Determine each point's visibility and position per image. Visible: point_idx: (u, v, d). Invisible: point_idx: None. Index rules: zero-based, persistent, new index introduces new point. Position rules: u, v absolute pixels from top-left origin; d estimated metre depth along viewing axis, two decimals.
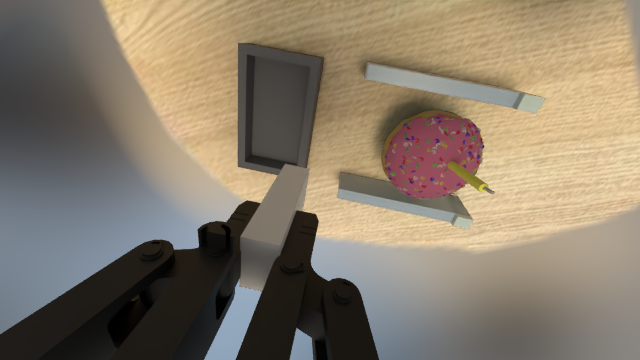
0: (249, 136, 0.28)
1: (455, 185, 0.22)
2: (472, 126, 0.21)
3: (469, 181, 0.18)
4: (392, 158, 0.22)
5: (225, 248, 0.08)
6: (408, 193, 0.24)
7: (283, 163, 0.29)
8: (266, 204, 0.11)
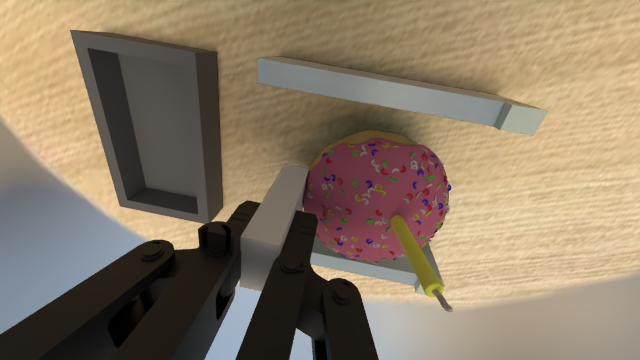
0: (133, 164, 0.20)
1: None
2: (429, 157, 0.13)
3: (413, 267, 0.10)
4: (309, 206, 0.14)
5: (225, 248, 0.08)
6: (342, 254, 0.16)
7: (187, 199, 0.21)
8: (266, 204, 0.11)
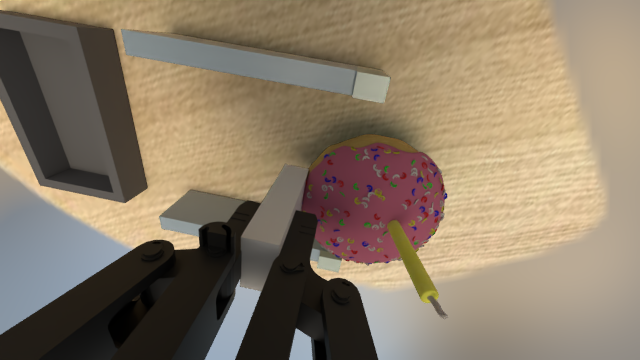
0: (50, 144, 0.20)
1: None
2: (429, 165, 0.13)
3: (409, 273, 0.10)
4: (308, 206, 0.14)
5: (226, 248, 0.08)
6: (336, 255, 0.16)
7: (108, 179, 0.22)
8: (266, 204, 0.11)
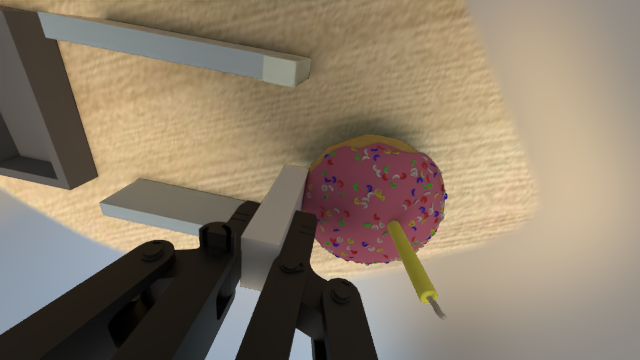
0: None
1: None
2: (429, 166, 0.13)
3: (409, 273, 0.10)
4: (308, 206, 0.14)
5: (226, 248, 0.08)
6: (336, 255, 0.16)
7: None
8: (267, 204, 0.11)
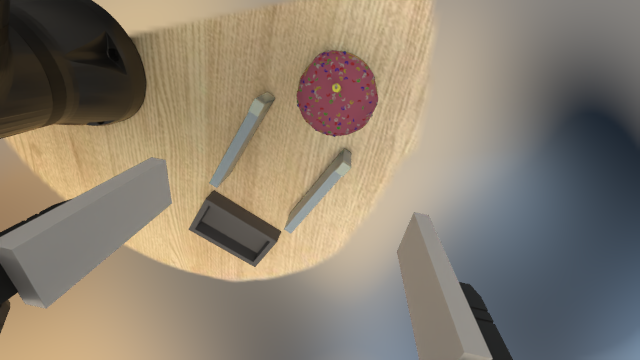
0: (242, 249, 0.43)
1: (361, 91, 0.24)
2: (322, 56, 0.24)
3: None
4: (316, 127, 0.27)
5: None
6: (354, 128, 0.26)
7: (267, 242, 0.42)
8: (73, 203, 0.09)
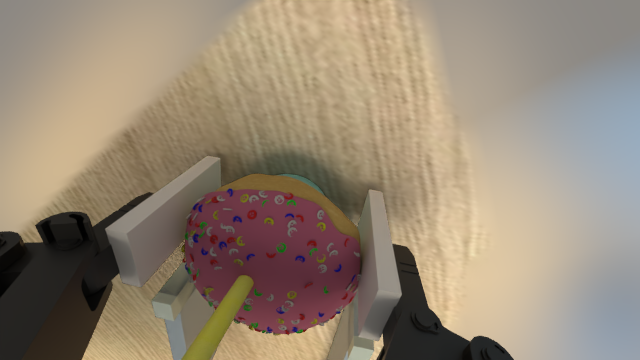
0: None
1: (301, 265, 0.09)
2: (194, 213, 0.10)
3: None
4: None
5: (82, 238, 0.08)
6: (335, 313, 0.11)
7: None
8: (158, 195, 0.10)
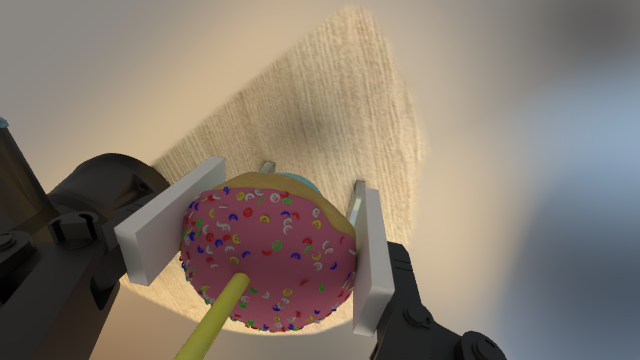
0: None
1: (297, 263, 0.09)
2: (190, 211, 0.11)
3: None
4: None
5: (91, 237, 0.08)
6: (331, 311, 0.12)
7: None
8: (165, 195, 0.10)
